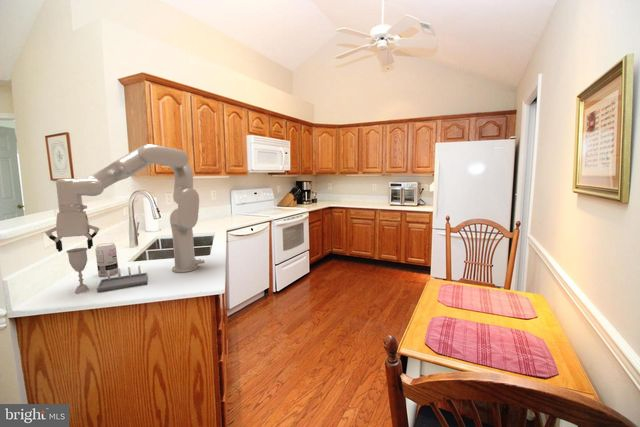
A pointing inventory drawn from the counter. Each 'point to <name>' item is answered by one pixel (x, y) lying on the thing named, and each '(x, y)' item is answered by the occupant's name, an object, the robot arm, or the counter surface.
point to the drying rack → (122, 281)
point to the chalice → (79, 265)
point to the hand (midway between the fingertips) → (75, 249)
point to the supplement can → (106, 259)
